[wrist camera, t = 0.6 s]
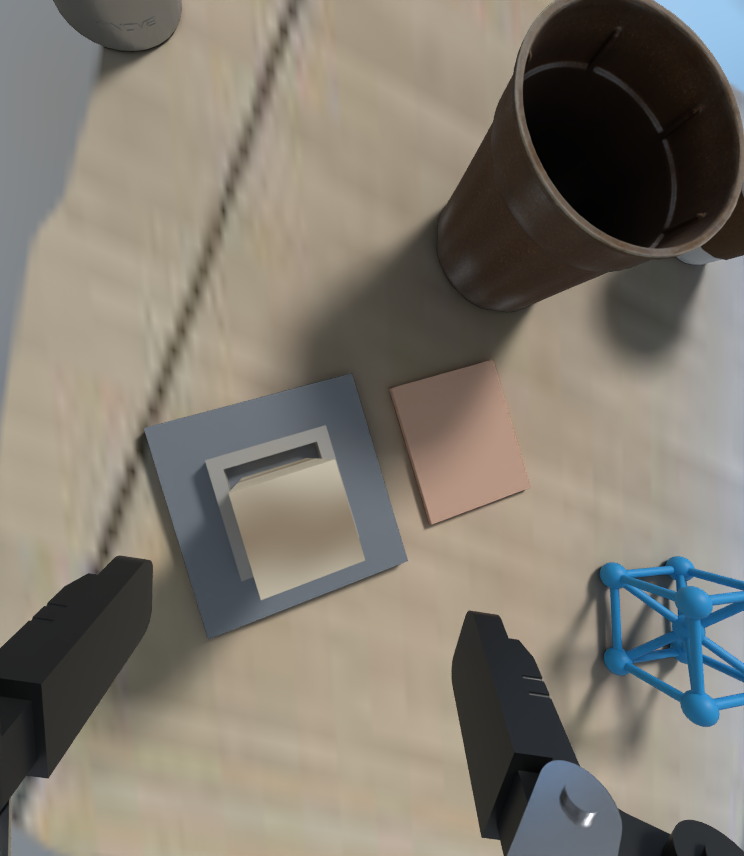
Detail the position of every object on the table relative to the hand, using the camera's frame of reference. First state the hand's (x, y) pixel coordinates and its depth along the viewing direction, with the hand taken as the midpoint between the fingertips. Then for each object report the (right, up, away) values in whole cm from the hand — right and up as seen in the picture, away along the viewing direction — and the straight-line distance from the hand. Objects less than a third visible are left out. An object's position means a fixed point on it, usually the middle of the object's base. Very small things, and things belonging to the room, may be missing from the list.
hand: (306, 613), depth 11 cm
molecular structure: (+27, -13, +31) cm, 44 cm away
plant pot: (+13, +22, +30) cm, 39 cm away
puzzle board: (-5, -1, +23) cm, 24 cm away
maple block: (-5, -1, +22) cm, 23 cm away
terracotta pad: (+9, +4, +27) cm, 29 cm away
